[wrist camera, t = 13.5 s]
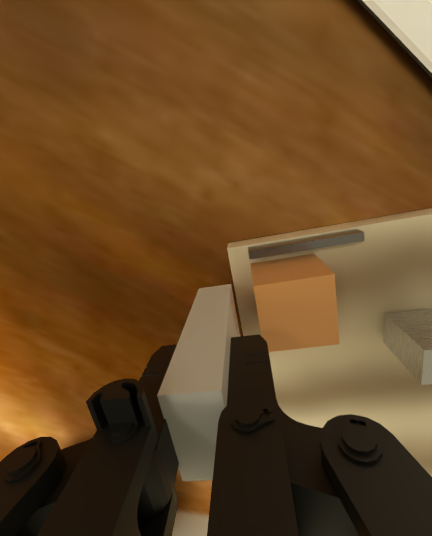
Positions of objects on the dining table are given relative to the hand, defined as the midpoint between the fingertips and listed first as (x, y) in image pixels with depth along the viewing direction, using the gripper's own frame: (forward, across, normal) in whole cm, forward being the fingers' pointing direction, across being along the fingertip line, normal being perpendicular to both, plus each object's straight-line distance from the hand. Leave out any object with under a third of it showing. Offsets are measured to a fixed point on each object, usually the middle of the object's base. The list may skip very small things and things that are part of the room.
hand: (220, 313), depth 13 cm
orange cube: (+2, +3, 0) cm, 4 cm away
